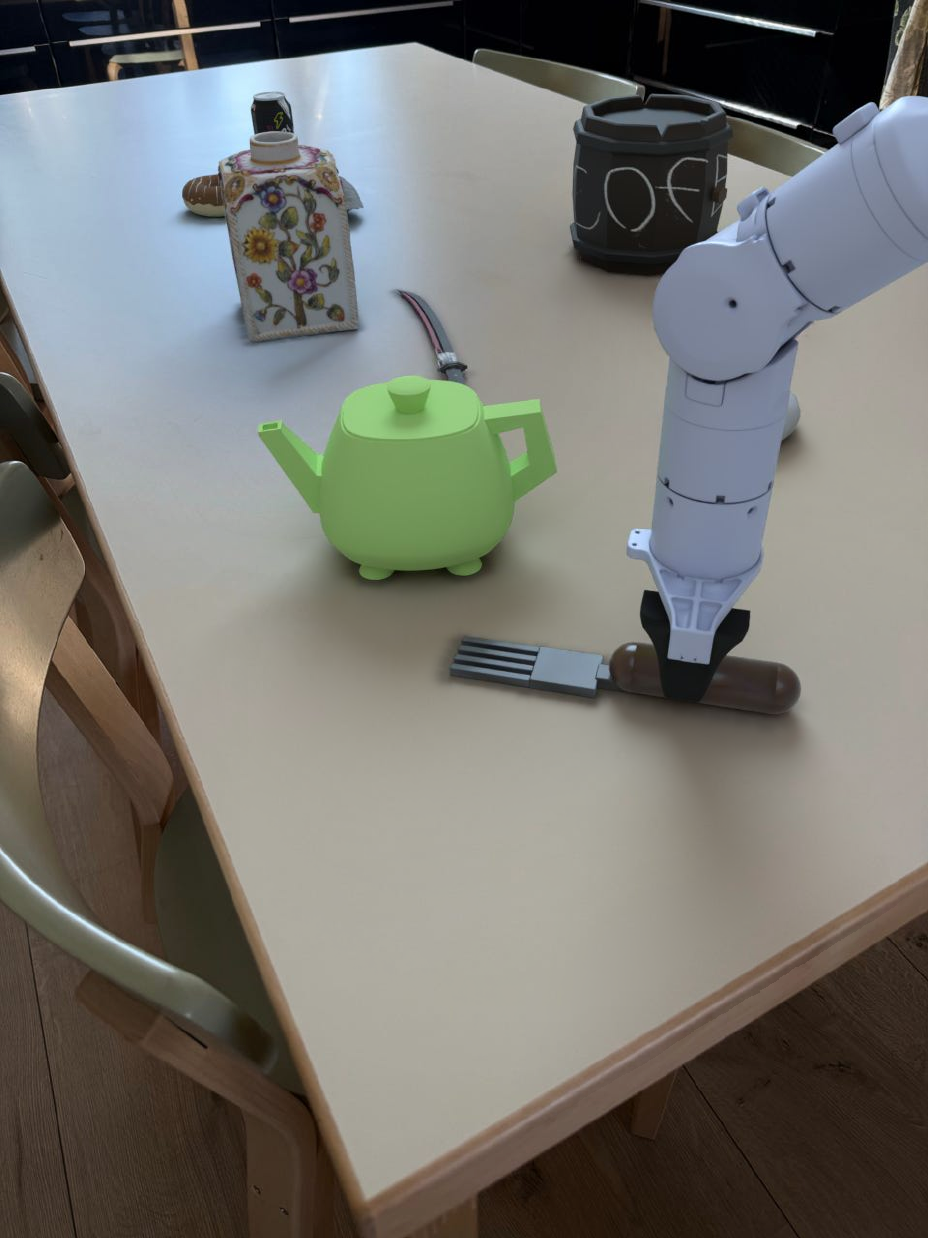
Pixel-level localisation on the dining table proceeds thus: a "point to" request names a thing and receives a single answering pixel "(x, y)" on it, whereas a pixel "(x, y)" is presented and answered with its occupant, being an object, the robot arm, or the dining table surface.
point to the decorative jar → (289, 238)
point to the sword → (448, 357)
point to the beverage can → (271, 113)
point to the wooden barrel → (647, 180)
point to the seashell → (351, 195)
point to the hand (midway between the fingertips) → (685, 675)
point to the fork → (624, 673)
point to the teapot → (416, 474)
